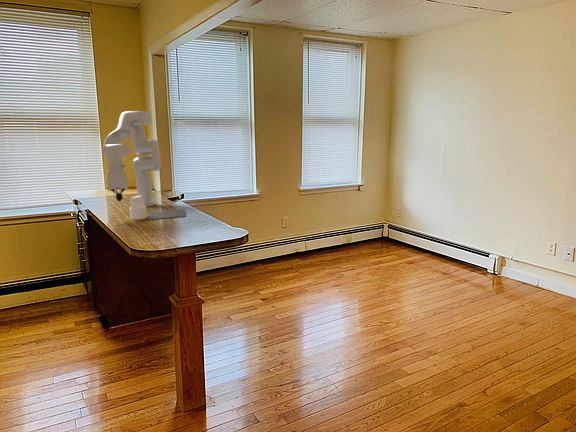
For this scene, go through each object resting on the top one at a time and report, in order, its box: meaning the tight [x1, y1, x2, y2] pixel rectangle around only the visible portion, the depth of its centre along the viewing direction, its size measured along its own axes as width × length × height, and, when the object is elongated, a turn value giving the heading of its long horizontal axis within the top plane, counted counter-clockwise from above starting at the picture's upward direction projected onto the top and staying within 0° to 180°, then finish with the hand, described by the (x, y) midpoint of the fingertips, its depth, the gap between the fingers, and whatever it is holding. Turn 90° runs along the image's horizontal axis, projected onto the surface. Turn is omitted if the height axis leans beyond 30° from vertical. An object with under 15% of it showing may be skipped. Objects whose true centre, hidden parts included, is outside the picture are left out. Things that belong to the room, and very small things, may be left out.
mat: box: [147, 209, 186, 221], centre depth 247 cm, size 20×20×1 cm
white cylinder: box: [128, 195, 148, 220], centre depth 242 cm, size 9×9×12 cm
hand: (119, 200), depth 239 cm, fingers closed
